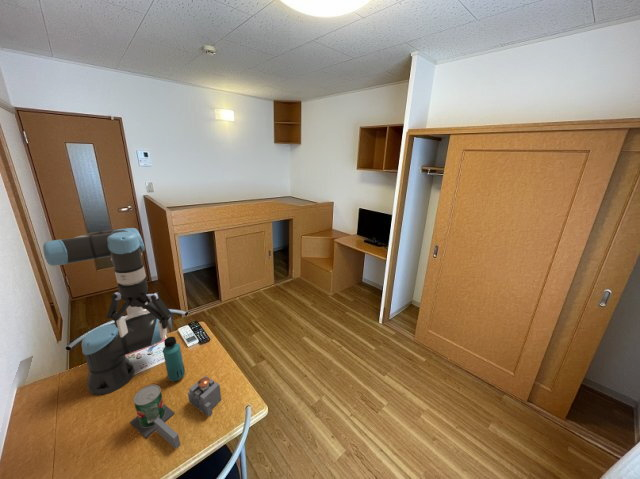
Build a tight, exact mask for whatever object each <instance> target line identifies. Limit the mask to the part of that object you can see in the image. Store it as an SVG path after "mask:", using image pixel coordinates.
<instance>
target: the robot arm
mask: <svg viewBox="0 0 640 479" xmlns="http://www.w3.org/2000/svg"><path fill="white" fill-rule="evenodd" d="M145 250H146V246H145V244H144V241H143V239H142V236H141V234H140V232H139V230H138V228H135V227H124V228H120V229H119V228H118V229H111V230H110V229H109V230H102V231H94V232H88V233H86V234H81V235H78V236H75V237H70V238H69V237H68V238H61V239H54V240H49V241H45V242H44V243H43V246H42V251H43V254H44V255H43V256H44V258H45V260H46V263H47V264H48V265H49V266H52V267H55V266H60V265H61V266H63V265H69V264H75V263H80V262H85V261H91V260H97V259H103V258H110V261H111V262H112V266H113V270H114V274H115V279H116V282H117V288H118V290H117V291H116V292H114V293H113V294H112V295H111V302H110V304H109V307H108V312H107V315H106V319H108V320H109V319H111V320H112V321H114V323H113V324H111V323H109V324H104V325H102V326H101V325H100V326H99V327H97V328H95V329H93V330H91V331H90V332H89V333H87V335H85V336H84V338H83V339H82V341H81V352H82V354H83V355H84V359H85V362H86V365H87V369H88V371H89V372H88V378H87V388H88V391H89V393H90V394H92V395H97V396H98V395H106V394H109V393H113V392H115V391H117V390H118V389H121V388H122V387H123V386H125V385H126V384H128V382H130V381H131V379H132V377H133V376H134V375H135V366H134V364H133V362H132V361H131V360H130V359H129V358H127V356H126V355H129V354H131V353H135V352H137V351H140V350H144V349H146V348H148V347H152V346H154V345H156V344H159V343H161V342H162V341H163V339H164V337H166V335H167V334H168V326H169V323H168V321H169V320H170V319H171V318H172V316H173V313H172V312H171V311H170V309H169V308H168V306H167V305H166V304H165V302H164V301H163V300H162V298H161V296H160V294H159V292H158V291H156V292H154V293H149V290H148V289H149V284H148V281H147V280H148V279H147V278H146V277H147V274H146V269H145V265H144V263H143V252H144V251H145ZM121 300H123V301H124V303H123V304H122V305H121V306H120V302H121ZM119 306H120V308H119ZM118 308H119V309H118ZM117 310H118V311H117ZM125 312H126V314H127V316H126V317H125V316H123V315H124V313H125Z"/></svg>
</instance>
